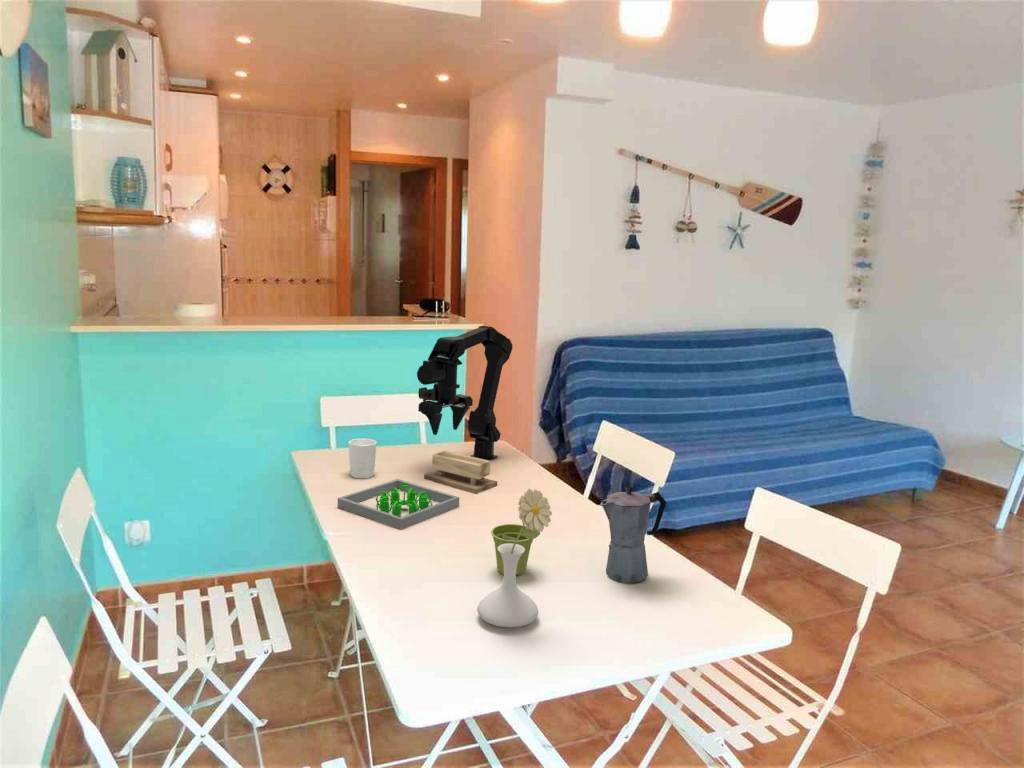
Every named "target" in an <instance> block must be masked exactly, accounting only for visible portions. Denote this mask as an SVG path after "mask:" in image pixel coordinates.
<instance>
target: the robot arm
mask: <svg viewBox="0 0 1024 768" xmlns="http://www.w3.org/2000/svg"><path fill="white" fill-rule="evenodd" d="M479 344H481V345H482V346H483V347H484V357H485V360H486V362H487V363H486V368H485V370H484V371H485V372H484V377H483V381H482V385H481V390H480V395H479V399H478V403H477V404H478V405H477V407H476V408H475V409H474V410H471V411H470V412H469V418H468V421H467V422H466V423H467V429H468V433H469V438H472V439H474V445H473V448H474V449H473V454H471V455H469V456H470V457H475V458H479V459H484V460H488V461H491V460H493V459H496V458H498V455H496V454H494V451H495V443H497V442H498V441H500V438H501V435H502V434H501V432H500V430H499V429H498V427H497V426H496V423H497V418H496V415H495V411H494V409H495V408H494V407H495V403H496V398H497V393H498V389H499V383H500V379H501V374H502V370H503V366H504V365H505V364H506V363H507V362H508V360H509V359H510V356H511V354H512V350H513V342H512V341H511V339H510V338H508V337H507V336H506V335H504V334H503V333H501V332H499V331H498V330H497V329H496V328H495V327H493V326H490V325H489V326H488V325H479V326H478V327H476V328H475V329H471V330H469V331H466V332H464V333H462V334H459V335H458V336H455V335H454V336H443V337H439V338H437V340H436V342H435V344H434V346H433V347H432V350H431V351H430V354H429V356H428V358H427V360H423V361H422V365H420V366H419V367H418V370H417V371H416V375H417V376H416V377H417V380H418V382H419V383H420V384H422V385H424V387H420V388H418V393H417V395H418V399H420V400H422V401H420V402H419V404H418V408H417V409H418V410H417V411H418V412H420V413H421V414H423V415H425V417H426V418H427V419H428V423H429V426H430V428H431V431H432V434H433V435H434V436H436V435H438V433H439V428H440V426H441V421H442V418H443V413H442V411H443V409H444V408H445V409H446V408H447V407H448V408H449V407H450V409H451V411H452V429H453V430H454V431H457V429H458V428H459V426H460V424H461V423H462V420H463V419H464V417H465V415H466V414H467V412H468V411H469V410H470V409H471V407H472V406H473V403H474V399H473V397H472V396H470V395H466V394H460V393H458V394H457V389H460V388H461V387H460V386H461V385H460V383H458V366H460V365H463V362H462V361H461V360H460V359H459V358H460V357H462V356H463V355H464V354H465V353H466V351H467V350H468V349H470V348H473V347H474V346H477V345H479ZM427 385H433V388H429V389H428V388H427V387H426V386H427Z"/></svg>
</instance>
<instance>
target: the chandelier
mask: <svg viewBox="0 0 1024 768" xmlns="http://www.w3.org/2000/svg"><path fill="white" fill-rule="evenodd" d="M400 487H402V488H404V491H403V500H402V499H401V497H400V495H401V494H400V491H399V489H397V488H393V489H392V491H391V494H390V492H388V493H387V492H381V493H383V494H382V495H379V494H381V493H379V494H378V495H377V496H376V499H375V501H376V507H375V509H377V510H380V511H383V512H386V513H389V512H391V514H392V515H395V516H398V517H401V515H402V506H407V507H408V515H409V514H411V513H414V512H417V511H419V510H422V509H425V508H427V507H429V504H430V506H433V502H432V501H431V496H430V494H429V493H427V492H420V493H419V494H418V495H415V490H414V488H410V490H409V491H408V492H405V488H407V487H409V484H407V483H402V484H400ZM406 493H407V494H406ZM425 493H427V494H428V495H429V498H427V495H426V494H425ZM420 494H421V495H420ZM419 495H420V496H419ZM379 496H380V498H378V497H379ZM389 501H390V502H389ZM379 507H380V509H379Z"/></svg>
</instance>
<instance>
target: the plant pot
mask: <svg viewBox="0 0 1024 768" xmlns="http://www.w3.org/2000/svg"><path fill="white" fill-rule="evenodd" d="M522 526H523V524H517V523H504V524H499V525H497V526H494V527H493V528H491V531H490V533H491V536H492V539H493V542H494V549H495V561H496V568H497V569H496V570H498V572H499V573H500V574H501V575H504V564H503V559H502V556H501V554H500V552H499V551H498V546H500V545H502V544H508V543H511V544H514V543H515V541H513V540H510V539H506V538H503V537H502V534H503V533H504V534H505V535H507V536H509V537H513V538H516V539H517V537H518V535H519V533H520V531H521V528H522ZM525 528H526V527H525V525H524V528H523V530H524V529H525ZM533 542H534V539H532V540H529V539H527V538H526V537H525V536H524V535H523V533H521V535H520V537H519V539H518V541H517V543H516V544H518V545H521V546H522V547H524V548H525V551H524V553H523V554H522V555H521V556H520V558H519V560H518V564H517V569H516V575H519V576H521V575H523V574H524V573H525V572H526V570H527V566H528V561H529V555H530V552H531V551H530V550H531V546H532V544H533Z"/></svg>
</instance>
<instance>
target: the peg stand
mask: <svg viewBox="0 0 1024 768" xmlns="http://www.w3.org/2000/svg"><path fill="white" fill-rule="evenodd" d="M423 478H424V479H425V480H427V481H431V482H434V483H436V484H437V483H438V484H441V485H445V486H448V487H450V488H455V489H458V490H461V491H465V492H469V493H471V494H479V493H482V492H485V491H486V490H489V489H492V488H495V487H497V486H498V481H497V480H493V479H489V478H486V477H483V478H481V479H474V478H470V477H466V476H462V475H458V474H453V473H449V472H445V471H441V470H437V469H436V470H435V471H432V472H429V473H425V474H423Z"/></svg>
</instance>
